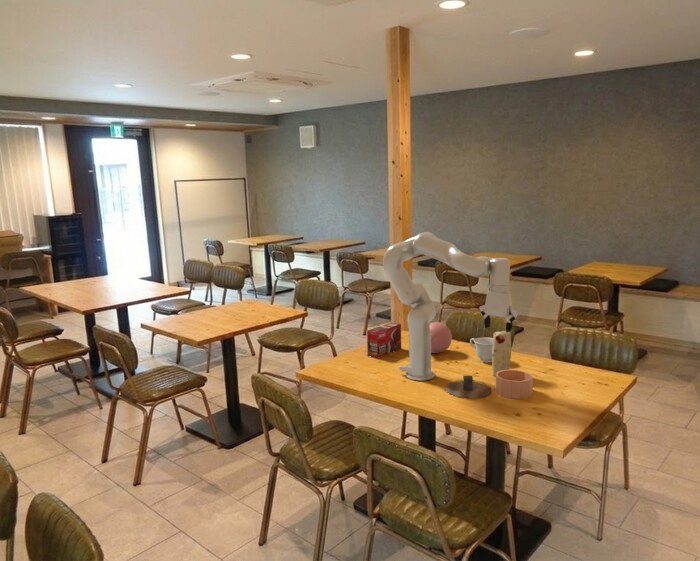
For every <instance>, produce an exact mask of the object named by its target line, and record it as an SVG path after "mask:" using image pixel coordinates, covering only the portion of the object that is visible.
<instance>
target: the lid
mask: <svg viewBox="0 0 700 561" xmlns="http://www.w3.org/2000/svg"><path fill="white" fill-rule="evenodd" d="M491 390H492V389H491V388H490V387H489V386H488V385H486V384H484V383H481V382H476V381H474V378H473V375H463V379H462V381H461V380H460V381H454V382H451V383H447V385H446V386H445V392H446V391H447V392H446V393H447V394H448V393H449V394H448V395H449V396H452V395H453V397H455V398H459V399H465V398H466V400H467V399H468V400H476V399H477V398H478V399H483V398H486V397H488V396H490V395H491Z"/></svg>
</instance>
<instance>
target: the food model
mask: <svg viewBox="0 0 700 561" xmlns="http://www.w3.org/2000/svg"><path fill="white" fill-rule="evenodd" d="M511 336H512V335H511V331H510V332H506V330H502V331H494V332H493V337H492V338H493V347H492V362H491V364H492V366H491V367H492V374H493V376H495V377H496V373H497V372H498V371H501V370H510V365H511V357H512V337H511Z"/></svg>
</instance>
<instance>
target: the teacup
mask: <svg viewBox="0 0 700 561" xmlns="http://www.w3.org/2000/svg"><path fill="white" fill-rule="evenodd" d="M473 342H474V343H473ZM469 344H470V346H471V347H472V348H474V350H475V353H476V356H477V358H479V361H480V362H481V361H482V363H484V362H485V363H487V364H489V363H492V347H493V337H487V336H486V337H483V336H482V337H481V336H480V337H477V338H474V337H473V338H470V339H469Z"/></svg>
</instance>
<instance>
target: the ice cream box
mask: <svg viewBox="0 0 700 561" xmlns="http://www.w3.org/2000/svg"><path fill="white" fill-rule="evenodd" d="M398 349H400V350H402V323H398V322H394V321H393V322H392V321H391V322H390V321H389V322H388V323H384V324H381V325H378V326H376V327H372V328H369V329H367V330H366V356H367V357H369V356H371V357H370V358H373V357H375V358H374V359H379V358H378V357H380V358H382V357H385V356H387V355H390V354H391V352H392V353H394V352H393V351H395V352H397V351H399V350H398ZM396 350H397V351H396ZM389 353H390V354H389ZM386 354H387V355H386ZM384 355H385V356H384ZM381 356H382V357H381Z"/></svg>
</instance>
